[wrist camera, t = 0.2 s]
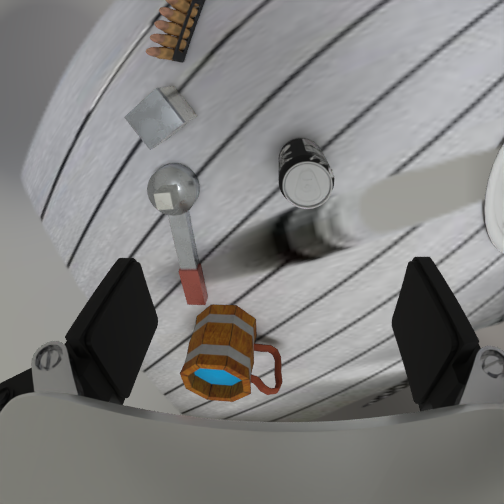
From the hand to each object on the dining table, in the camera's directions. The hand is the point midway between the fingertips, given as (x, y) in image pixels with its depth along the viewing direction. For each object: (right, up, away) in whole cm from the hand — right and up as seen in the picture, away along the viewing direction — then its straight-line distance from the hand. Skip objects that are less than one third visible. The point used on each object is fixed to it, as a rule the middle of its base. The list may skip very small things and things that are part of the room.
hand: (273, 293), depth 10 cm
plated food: (+55, +14, +30) cm, 65 cm away
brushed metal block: (-13, +22, +31) cm, 40 cm away
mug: (-3, -15, +54) cm, 56 cm away
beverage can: (+7, +15, +33) cm, 37 cm away
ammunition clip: (-10, +33, +24) cm, 42 cm away
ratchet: (-12, +4, +42) cm, 44 cm away
